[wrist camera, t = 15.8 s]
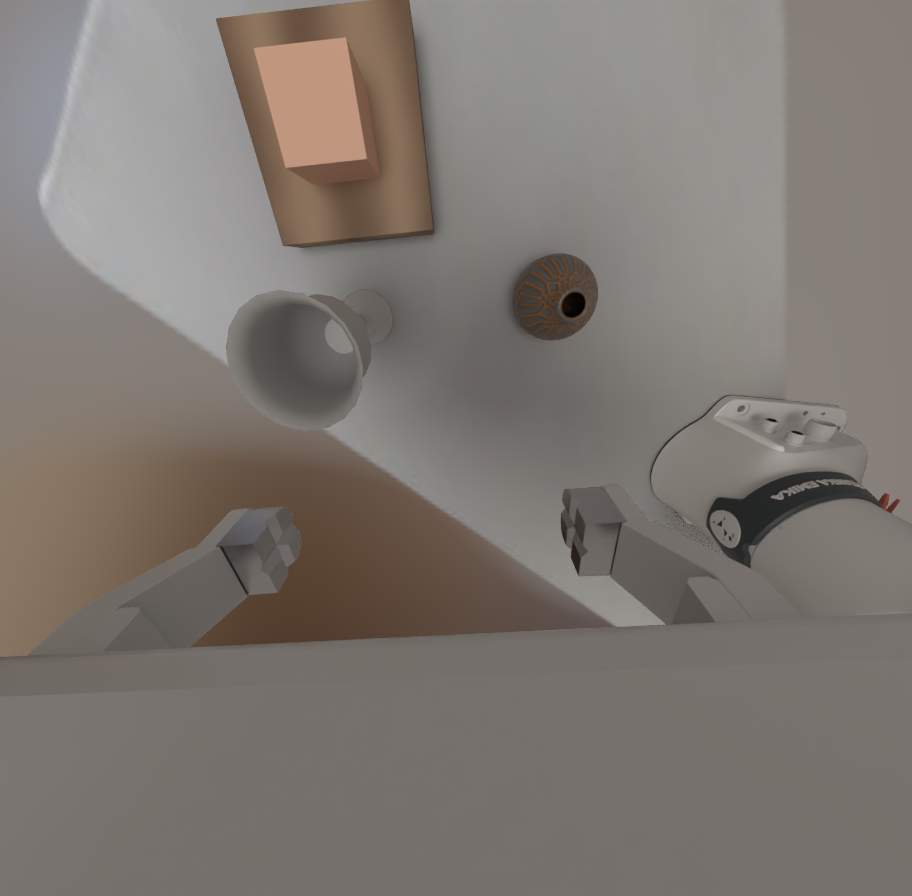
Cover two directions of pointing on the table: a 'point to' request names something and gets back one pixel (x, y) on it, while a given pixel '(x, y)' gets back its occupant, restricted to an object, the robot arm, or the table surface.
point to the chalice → (305, 354)
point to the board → (392, 113)
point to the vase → (555, 296)
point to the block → (320, 110)
